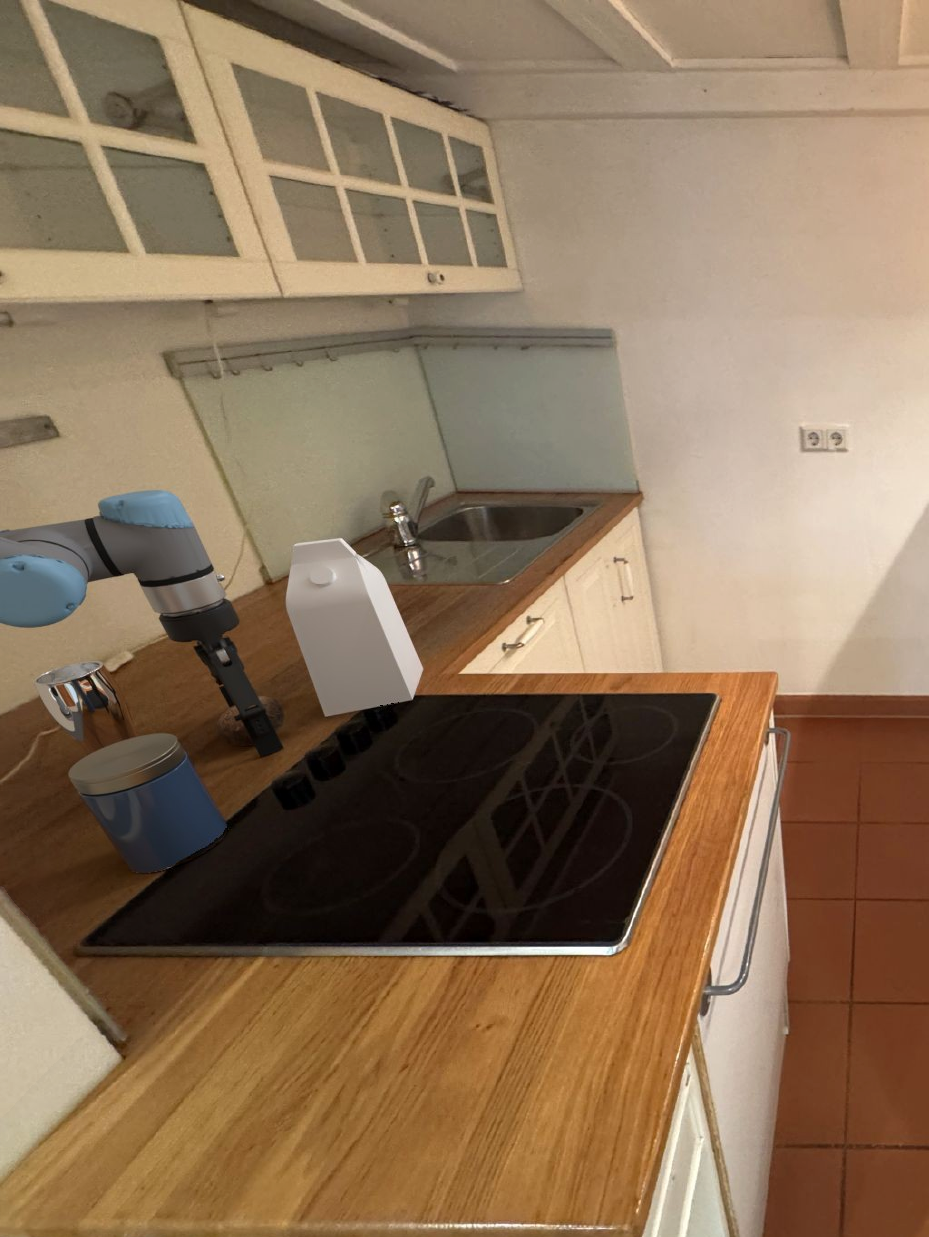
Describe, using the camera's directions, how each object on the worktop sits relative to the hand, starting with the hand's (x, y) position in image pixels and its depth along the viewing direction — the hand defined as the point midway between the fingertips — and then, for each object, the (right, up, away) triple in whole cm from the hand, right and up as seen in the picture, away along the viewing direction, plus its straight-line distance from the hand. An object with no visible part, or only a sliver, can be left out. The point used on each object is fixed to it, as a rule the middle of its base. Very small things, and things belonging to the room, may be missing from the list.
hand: (260, 735), depth 104 cm
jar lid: (+9, +1, -27) cm, 28 cm away
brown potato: (0, 0, 0) cm, 0 cm away
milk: (+9, +6, +12) cm, 16 cm away
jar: (+9, -10, -21) cm, 25 cm away
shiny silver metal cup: (-14, -4, -5) cm, 16 cm away
